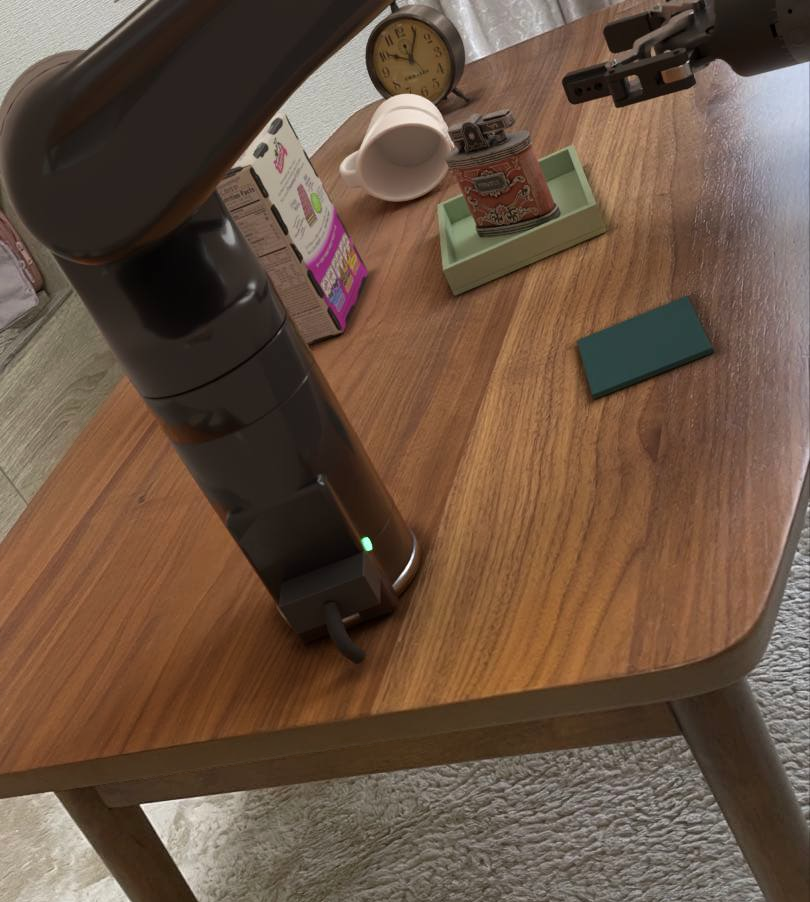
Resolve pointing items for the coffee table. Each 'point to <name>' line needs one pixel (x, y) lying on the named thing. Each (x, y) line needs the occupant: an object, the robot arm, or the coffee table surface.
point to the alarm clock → (416, 54)
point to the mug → (400, 151)
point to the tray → (494, 257)
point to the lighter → (499, 176)
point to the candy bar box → (295, 230)
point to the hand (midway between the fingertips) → (587, 64)
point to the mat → (643, 347)
